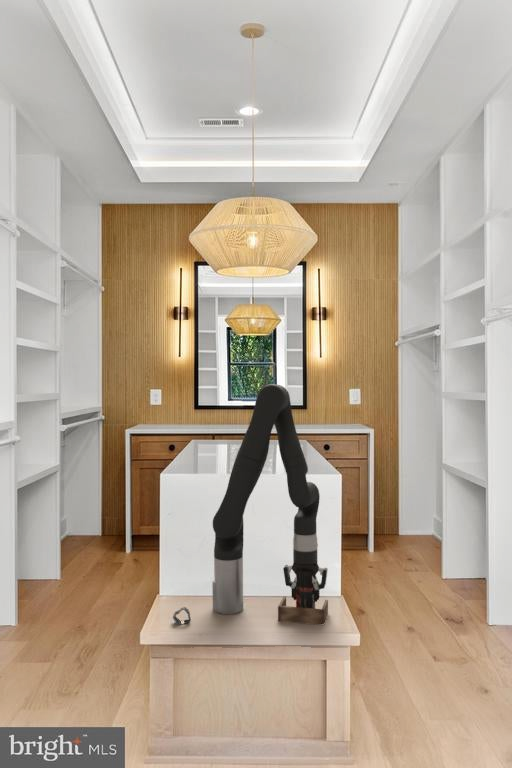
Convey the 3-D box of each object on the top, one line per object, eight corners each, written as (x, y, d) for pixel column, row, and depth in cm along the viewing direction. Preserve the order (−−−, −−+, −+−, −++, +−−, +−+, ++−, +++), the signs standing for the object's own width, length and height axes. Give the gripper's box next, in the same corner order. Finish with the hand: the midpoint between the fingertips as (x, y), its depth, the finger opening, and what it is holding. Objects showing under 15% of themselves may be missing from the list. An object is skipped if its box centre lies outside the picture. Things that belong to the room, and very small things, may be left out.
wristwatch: (182, 625, 204) (171, 615, 203) (194, 614, 204) (183, 603, 203) (182, 630, 201) (170, 620, 200) (194, 619, 201) (183, 608, 200)
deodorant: (314, 620, 203) (313, 572, 203) (294, 618, 205) (294, 571, 204) (316, 612, 209) (315, 566, 209) (297, 611, 210) (297, 565, 210)
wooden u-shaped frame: (278, 620, 203) (278, 606, 203) (283, 610, 212) (283, 596, 211) (324, 625, 200) (323, 610, 199) (327, 613, 208) (327, 599, 208)
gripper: (280, 549, 204) (280, 602, 205) (326, 551, 201) (326, 606, 201) (285, 542, 211) (285, 594, 212) (329, 545, 208) (330, 597, 209)
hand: (305, 599), depth 207 cm, fingers closed on deodorant, 6 cm apart
